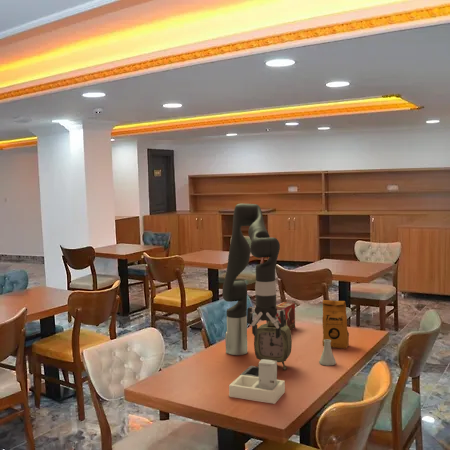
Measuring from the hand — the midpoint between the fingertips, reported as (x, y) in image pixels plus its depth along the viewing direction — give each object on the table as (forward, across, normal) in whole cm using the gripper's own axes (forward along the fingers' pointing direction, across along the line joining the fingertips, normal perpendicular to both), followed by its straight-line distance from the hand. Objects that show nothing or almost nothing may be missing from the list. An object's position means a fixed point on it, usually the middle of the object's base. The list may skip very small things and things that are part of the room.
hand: (266, 336), depth 193 cm
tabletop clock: (+22, -8, +30) cm, 38 cm away
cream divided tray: (+22, -4, 0) cm, 22 cm away
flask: (+22, +12, +42) cm, 49 cm away
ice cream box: (+23, -22, +81) cm, 87 cm away
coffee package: (+22, +10, +66) cm, 70 cm away
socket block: (+22, -9, +13) cm, 27 cm away
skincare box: (+21, 0, 0) cm, 21 cm away
